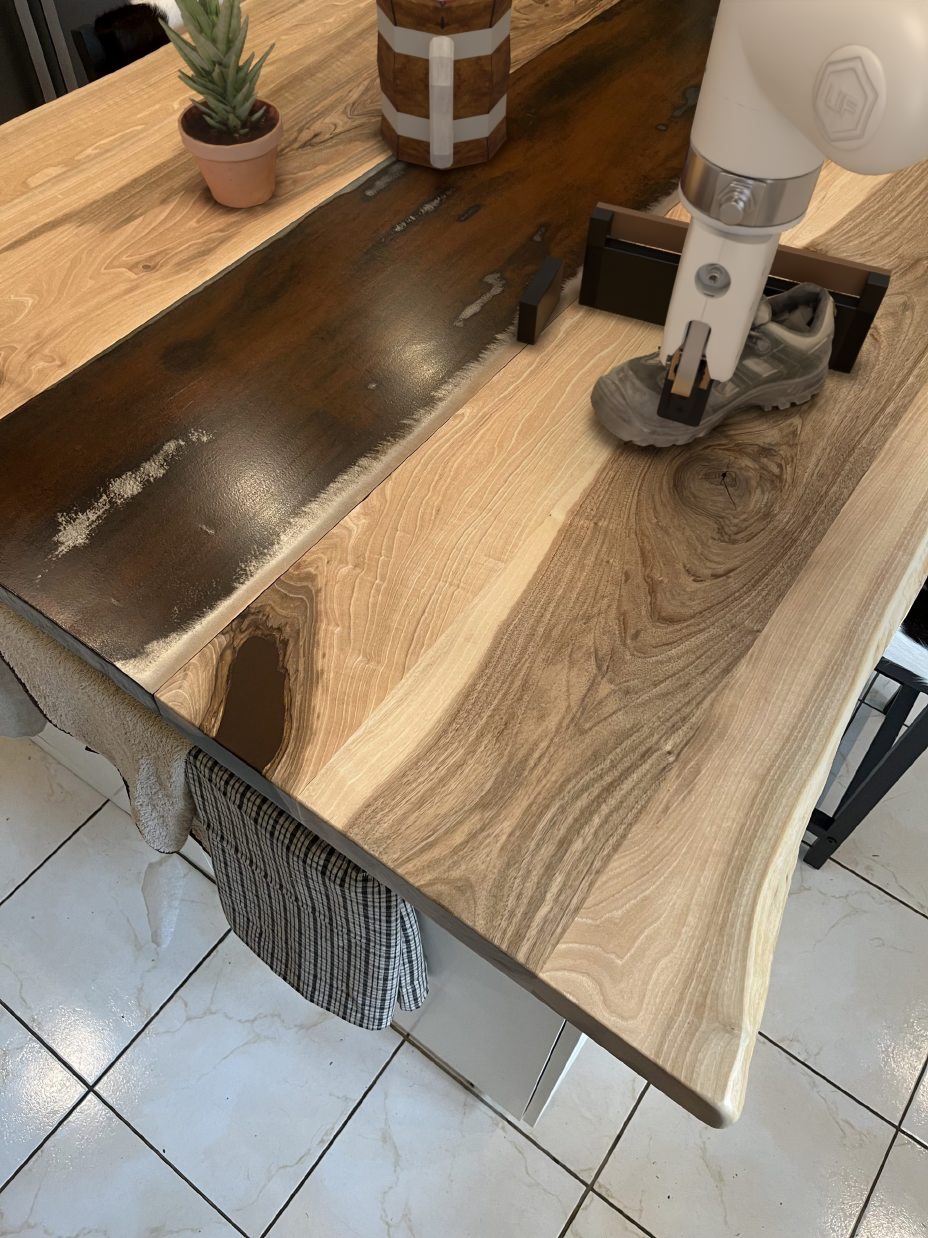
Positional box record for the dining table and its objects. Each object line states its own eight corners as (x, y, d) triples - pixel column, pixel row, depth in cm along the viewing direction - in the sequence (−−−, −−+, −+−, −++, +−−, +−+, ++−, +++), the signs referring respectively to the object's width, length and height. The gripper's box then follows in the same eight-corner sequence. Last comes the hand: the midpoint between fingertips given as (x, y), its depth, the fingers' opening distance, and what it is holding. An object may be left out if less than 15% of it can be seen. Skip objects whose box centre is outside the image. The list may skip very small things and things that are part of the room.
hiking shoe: (557, 367, 75) (627, 295, 64) (764, 326, 82) (861, 254, 71) (593, 476, 75) (670, 422, 63) (799, 425, 82) (901, 368, 71)
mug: (384, 103, 104) (376, -55, 92) (505, 106, 104) (514, -51, 92) (372, 201, 93) (362, 36, 80) (509, 204, 93) (519, 40, 81)
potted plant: (213, 228, 90) (147, -78, 69) (181, 180, 94) (110, -120, 74) (310, 202, 92) (274, -100, 72) (274, 157, 97) (230, -138, 77)
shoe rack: (854, 356, 80) (892, 269, 73) (836, 427, 75) (876, 340, 68) (551, 279, 86) (561, 192, 79) (516, 340, 81) (523, 252, 74)
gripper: (789, 263, 49) (705, 500, 64) (835, 127, 57) (751, 366, 72) (650, 228, 51) (600, 468, 66) (714, 100, 59) (657, 340, 74)
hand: (679, 414), depth 69 cm, fingers closed
